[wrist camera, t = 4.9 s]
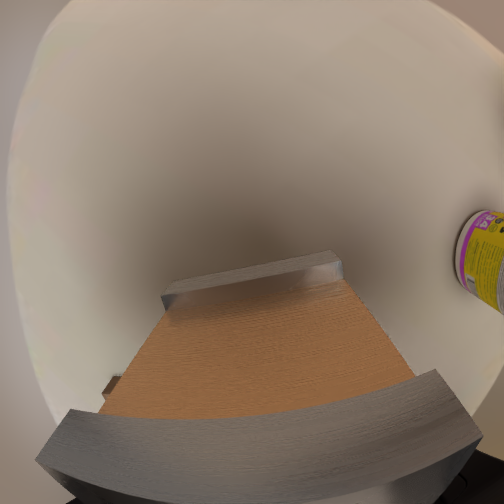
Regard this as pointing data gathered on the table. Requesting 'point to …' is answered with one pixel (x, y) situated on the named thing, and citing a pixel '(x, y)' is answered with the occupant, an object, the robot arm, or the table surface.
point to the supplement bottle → (483, 258)
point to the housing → (266, 403)
